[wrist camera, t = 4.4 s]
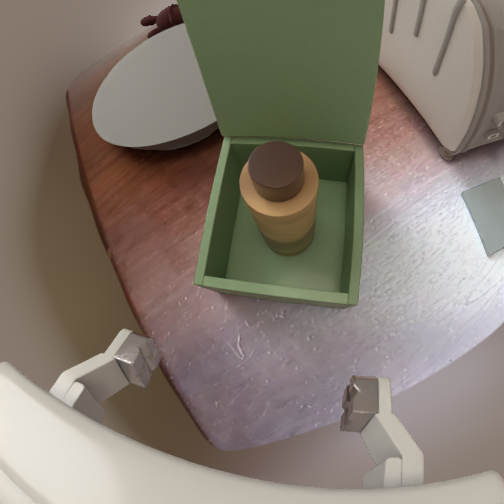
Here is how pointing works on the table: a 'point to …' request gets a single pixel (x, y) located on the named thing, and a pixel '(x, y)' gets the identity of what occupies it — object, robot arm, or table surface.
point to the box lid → (288, 65)
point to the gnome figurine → (164, 19)
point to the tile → (488, 213)
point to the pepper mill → (281, 196)
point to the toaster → (449, 66)
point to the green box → (257, 251)
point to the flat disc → (155, 96)
